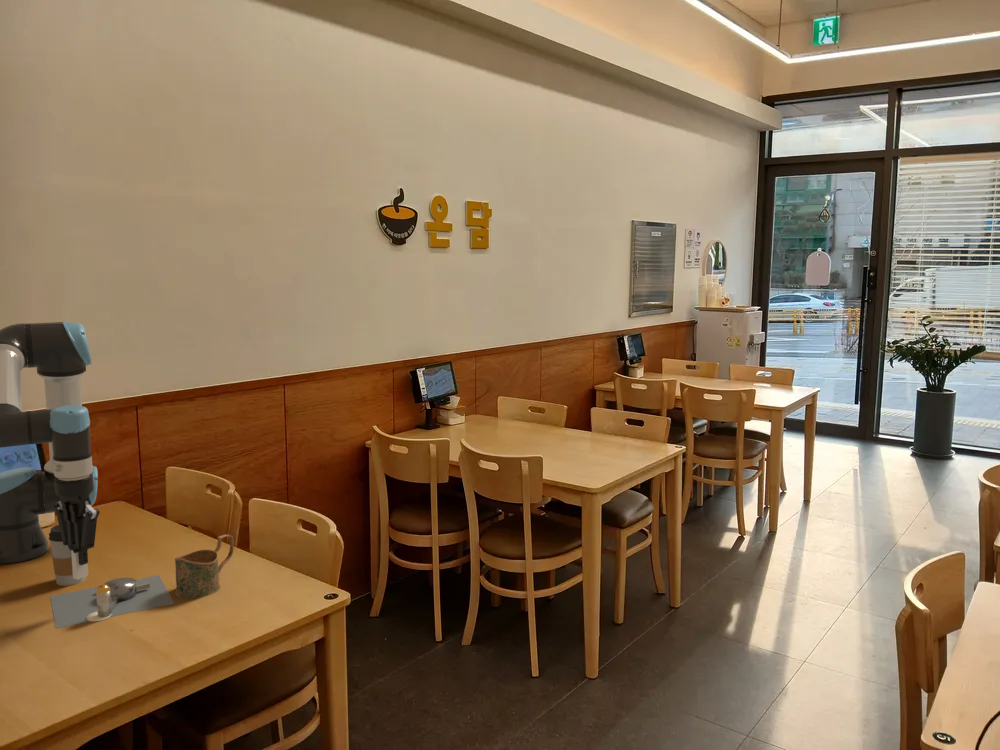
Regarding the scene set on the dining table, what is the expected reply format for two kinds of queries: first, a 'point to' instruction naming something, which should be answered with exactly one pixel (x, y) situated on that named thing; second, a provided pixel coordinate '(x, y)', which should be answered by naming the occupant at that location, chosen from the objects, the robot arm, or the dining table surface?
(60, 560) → the coffee cup
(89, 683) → the dining table surface
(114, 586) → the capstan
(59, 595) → the stand plate
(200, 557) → the mug
